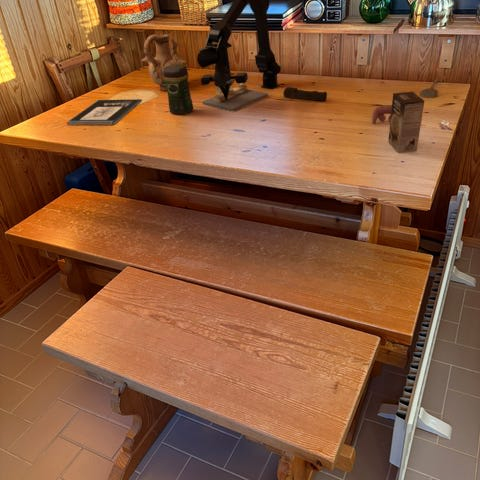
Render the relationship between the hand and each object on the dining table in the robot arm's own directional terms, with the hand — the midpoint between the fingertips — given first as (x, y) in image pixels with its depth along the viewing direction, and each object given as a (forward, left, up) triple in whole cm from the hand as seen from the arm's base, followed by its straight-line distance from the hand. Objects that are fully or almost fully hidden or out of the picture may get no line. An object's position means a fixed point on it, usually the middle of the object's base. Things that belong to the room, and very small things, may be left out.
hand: (226, 99), depth 195 cm
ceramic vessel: (-3, -41, -2) cm, 41 cm away
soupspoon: (-55, +64, -3) cm, 85 cm away
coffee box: (+1, +80, -2) cm, 80 cm away
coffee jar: (+17, -10, -2) cm, 20 cm away
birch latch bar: (-6, -3, -1) cm, 7 cm away
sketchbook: (+35, -40, -3) cm, 53 cm away
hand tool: (-20, +25, -2) cm, 32 cm away
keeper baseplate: (-5, 0, -2) cm, 6 cm away
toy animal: (-15, +66, -2) cm, 67 cm away
